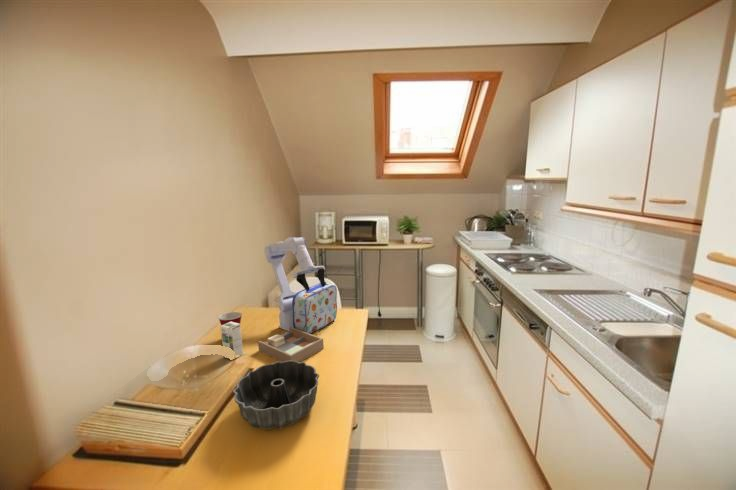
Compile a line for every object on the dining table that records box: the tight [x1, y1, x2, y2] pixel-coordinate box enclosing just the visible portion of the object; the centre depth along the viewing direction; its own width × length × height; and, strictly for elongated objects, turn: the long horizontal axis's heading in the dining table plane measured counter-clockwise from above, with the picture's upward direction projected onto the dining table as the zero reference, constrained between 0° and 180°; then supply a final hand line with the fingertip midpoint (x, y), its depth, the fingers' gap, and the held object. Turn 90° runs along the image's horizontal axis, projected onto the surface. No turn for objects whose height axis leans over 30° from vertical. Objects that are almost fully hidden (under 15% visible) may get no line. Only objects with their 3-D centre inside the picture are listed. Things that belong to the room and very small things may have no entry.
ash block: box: [267, 333, 285, 348], centre depth 147 cm, size 5×5×3 cm
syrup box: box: [220, 322, 244, 356], centre depth 141 cm, size 6×6×14 cm
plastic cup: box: [217, 311, 243, 327], centre depth 158 cm, size 11×11×12 cm
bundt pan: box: [232, 360, 320, 430], centre depth 107 cm, size 26×26×10 cm
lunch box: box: [292, 281, 338, 334], centre depth 168 cm, size 28×10×22 cm, turn 150°
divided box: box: [257, 327, 325, 363], centre depth 147 cm, size 22×18×4 cm
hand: (316, 288), depth 143 cm, fingers open, 7 cm apart
